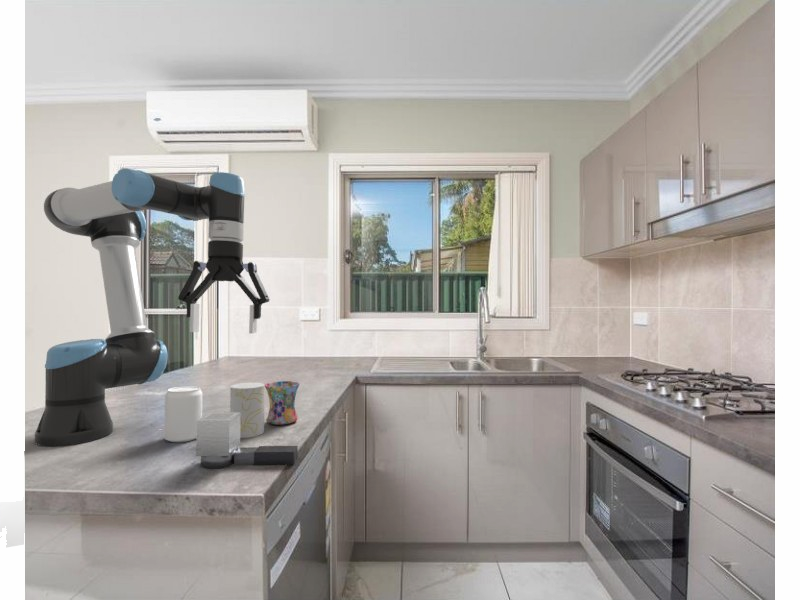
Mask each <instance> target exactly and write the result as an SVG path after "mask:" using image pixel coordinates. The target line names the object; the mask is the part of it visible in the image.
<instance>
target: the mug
mask: <svg viewBox="0 0 800 600" xmlns="http://www.w3.org/2000/svg"><path fill="white" fill-rule="evenodd" d="M300 384H301V383H300V382H298V381H295V380H294V381H291V380H288V381H287V380H279V381H278V380H277V381H271V382H268V383H267V382H266V383H265V384H264V388H265V389H266V392H267V396H268V400H269V411H268V415H267V417H266V419H265V421H266V422H267V423H268V424H271V425H274V426H275V425H276V426H280V425H288V424H292V423H294V422H296V421H298V419H299V417H298V414H297V412H296V407H295V405H296V403H295V402H296V396H297V392H298V389H299V386H300Z"/></svg>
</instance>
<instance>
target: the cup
mask: <svg viewBox="0 0 800 600" xmlns="http://www.w3.org/2000/svg"><path fill="white" fill-rule="evenodd" d="M229 390H230V391H229V392H230V395H229V396H230V399H229V404H230V409H229V412H241V414H240V439H245V438H254V437H258V436H261V435H262V434H264V433H265V384H264V383H263V382H241V383H235V384H232V385H230V388H229Z"/></svg>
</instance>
